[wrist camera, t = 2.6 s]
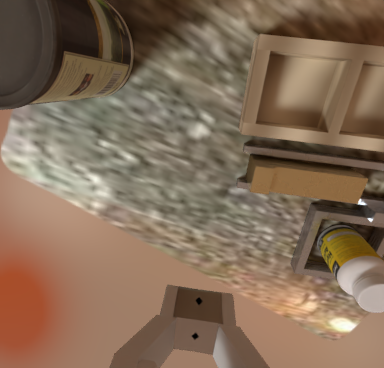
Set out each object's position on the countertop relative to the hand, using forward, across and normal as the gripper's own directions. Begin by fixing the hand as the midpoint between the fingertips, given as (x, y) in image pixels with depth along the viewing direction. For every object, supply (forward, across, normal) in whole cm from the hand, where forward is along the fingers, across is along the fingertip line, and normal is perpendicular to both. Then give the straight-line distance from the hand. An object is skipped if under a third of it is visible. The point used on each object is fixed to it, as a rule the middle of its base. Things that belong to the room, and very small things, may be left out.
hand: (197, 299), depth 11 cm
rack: (+21, -12, -10) cm, 26 cm away
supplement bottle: (+21, -19, +8) cm, 30 cm away
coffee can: (+22, +15, -12) cm, 29 cm away
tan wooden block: (+21, -11, 0) cm, 24 cm away
